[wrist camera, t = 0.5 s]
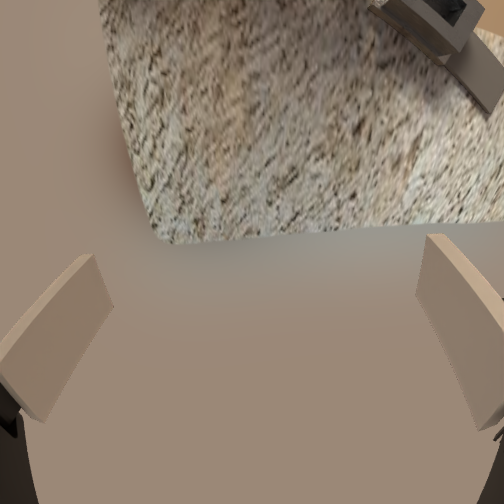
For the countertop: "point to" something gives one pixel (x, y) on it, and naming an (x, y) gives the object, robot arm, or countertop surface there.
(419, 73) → the countertop surface
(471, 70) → the mat
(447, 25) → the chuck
